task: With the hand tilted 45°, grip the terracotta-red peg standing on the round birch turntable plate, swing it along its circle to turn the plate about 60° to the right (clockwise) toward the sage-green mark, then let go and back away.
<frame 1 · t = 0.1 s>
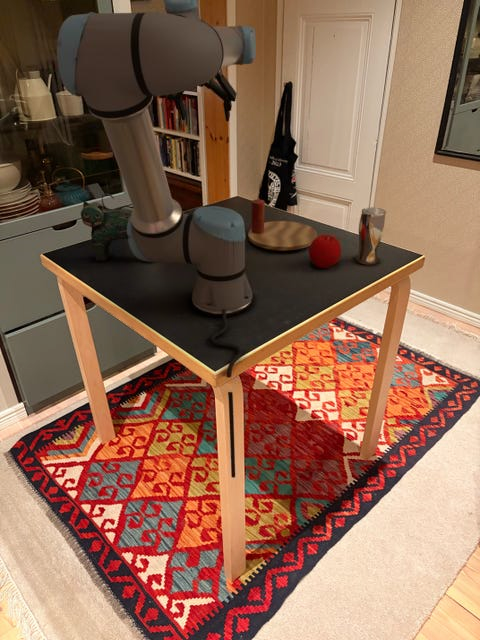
hand: (206, 117, 140), 36 cm above the table, tool tilted 35°, fingers open, 13 cm apart
soda can: (152, 231, 160), on the table
ceramic cat: (124, 259, 140), on the table
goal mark: (266, 226, 161), on the table
beer glass: (366, 261, 137), on the table
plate: (282, 220, 147), point 7 cm above the table, hinge at 0.0°
fruit: (323, 265, 135), on the table
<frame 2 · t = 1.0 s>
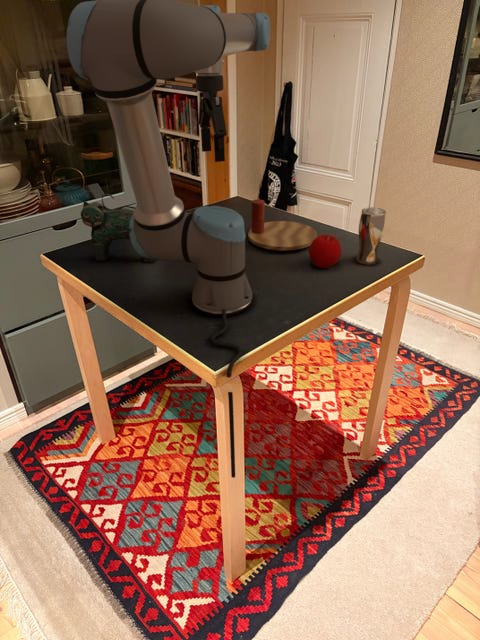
hand: (213, 156, 137), 27 cm above the table, tool pointing down, fingers open, 13 cm apart
nothing on the table moved.
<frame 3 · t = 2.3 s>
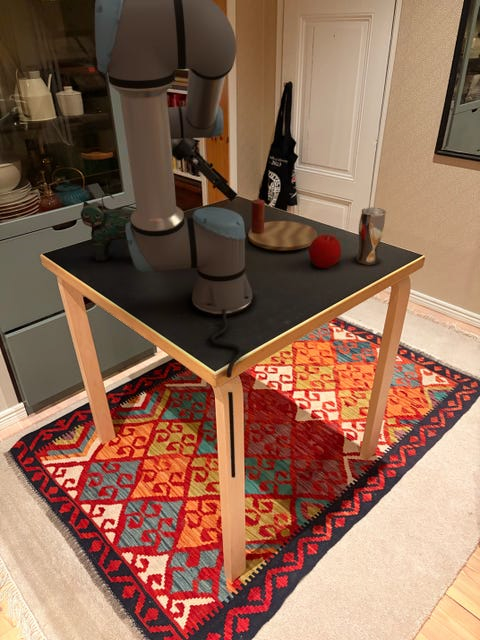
hand: (229, 191, 141), 17 cm above the table, tool tilted 45°, fingers open, 13 cm apart
nothing on the table moved.
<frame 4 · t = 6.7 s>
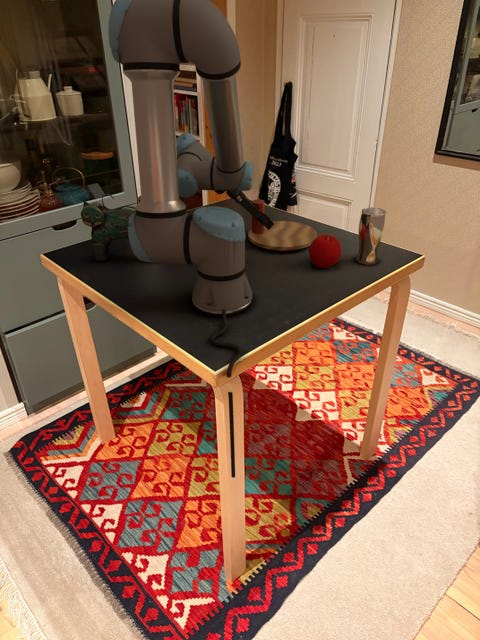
hand: (269, 224, 150), 5 cm above the table, tool tilted 45°, fingers closed on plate, 4 cm apart
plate: (282, 220, 147), point 7 cm above the table, hinge at 0.0°, touching gripper
everything else where it was.
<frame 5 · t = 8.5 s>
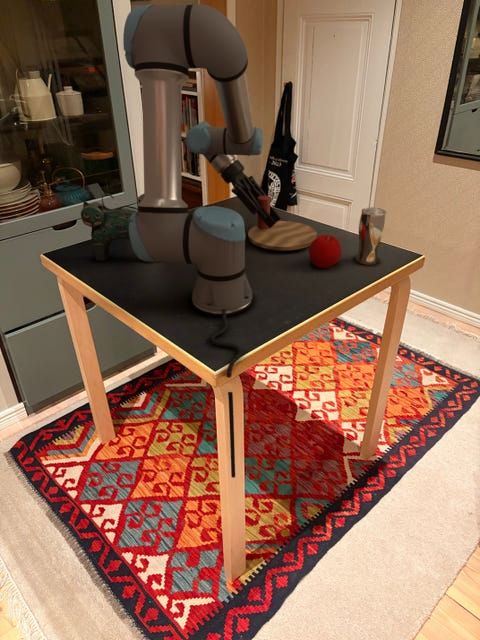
hand: (275, 223, 152), 4 cm above the table, tool tilted 45°, fingers closed on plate, 4 cm apart
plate: (282, 220, 147), point 7 cm above the table, hinge at -32.2°, touching gripper
everything else where it was.
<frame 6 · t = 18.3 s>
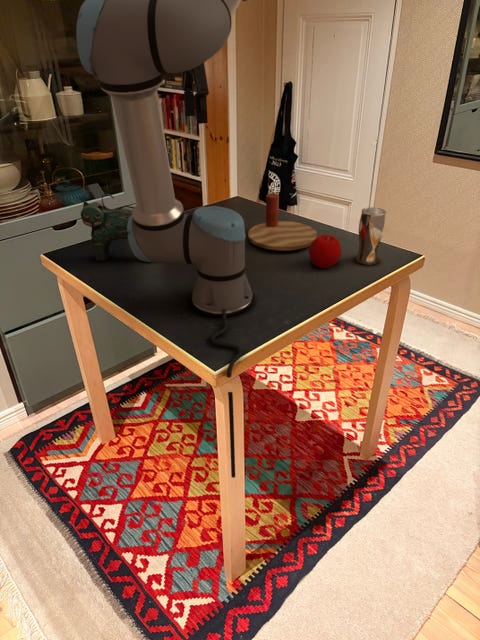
hand: (196, 119, 132), 37 cm above the table, tool pointing down, fingers open, 13 cm apart
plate: (282, 220, 147), point 7 cm above the table, hinge at -57.4°
everything else where it was.
at the end: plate at -57° (first picture: +0°) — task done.
